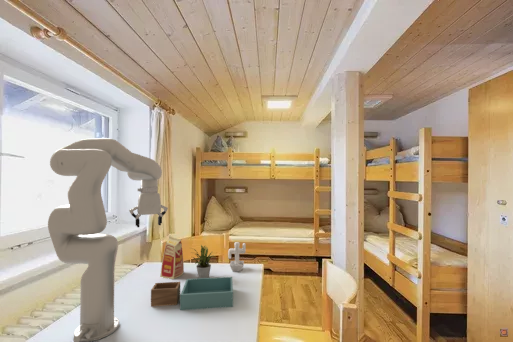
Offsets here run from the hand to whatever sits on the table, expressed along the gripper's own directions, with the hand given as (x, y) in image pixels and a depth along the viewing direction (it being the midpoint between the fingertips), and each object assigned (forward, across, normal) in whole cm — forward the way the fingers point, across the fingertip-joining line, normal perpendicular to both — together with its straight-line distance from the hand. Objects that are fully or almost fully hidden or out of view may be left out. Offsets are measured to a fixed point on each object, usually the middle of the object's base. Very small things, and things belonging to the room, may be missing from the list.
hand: (149, 226), depth 121 cm
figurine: (+27, +43, -9) cm, 52 cm away
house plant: (+27, +24, -8) cm, 37 cm away
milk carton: (+27, +12, +3) cm, 30 cm away
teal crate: (+28, +18, -31) cm, 45 cm away
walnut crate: (+27, +3, -24) cm, 36 cm away
